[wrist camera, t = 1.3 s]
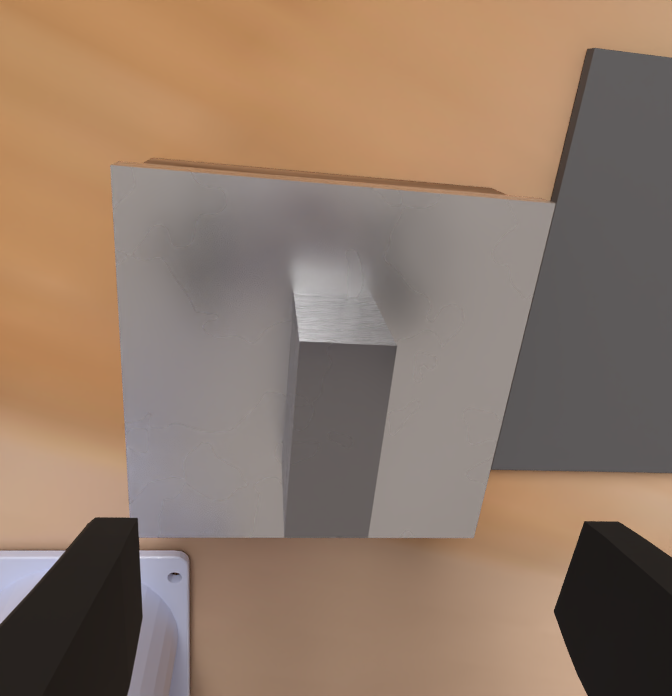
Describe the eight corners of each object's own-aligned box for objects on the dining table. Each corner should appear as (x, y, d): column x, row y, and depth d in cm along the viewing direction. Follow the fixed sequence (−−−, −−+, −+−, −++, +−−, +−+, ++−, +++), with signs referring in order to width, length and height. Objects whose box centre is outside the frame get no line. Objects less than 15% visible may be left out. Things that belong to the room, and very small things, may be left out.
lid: (458, 505, 19) (510, 617, 15) (142, 501, 18) (103, 624, 14) (528, 193, 15) (625, 230, 11) (126, 157, 14) (66, 184, 10)
